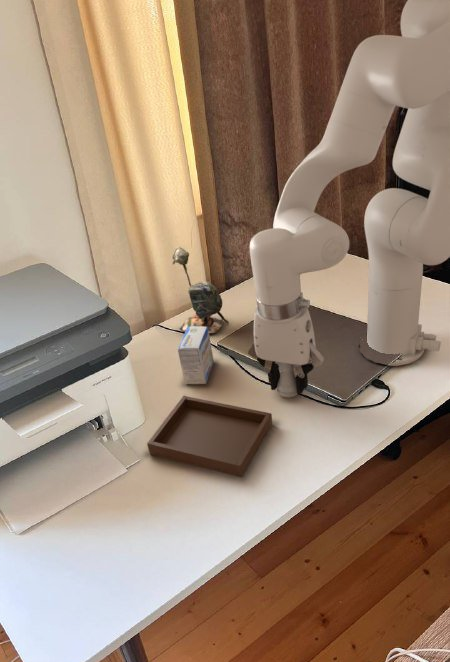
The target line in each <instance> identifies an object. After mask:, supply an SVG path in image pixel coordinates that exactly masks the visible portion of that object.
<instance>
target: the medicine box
mask: <svg viewBox="0 0 450 662" xmlns="http://www.w3.org/2000/svg"><path fill="white" fill-rule="evenodd" d="M210 337H211V336H210V333H209V330H208V327H202V326H192V327H187V329H186V332H185V331H184V334H183V337H182V339H181V340H180V343H179V346H178V348H177V354H178V358H179V363H180V368H181V372H182V373H181V374H182V377H183V382H184V384H185V385H206V384H207V382H208V379H209V377H210V373H211V370H212V367H213V364H214V362H215V360H214V354H213V349H212V348H213V347H212V342H211V338H210Z"/></svg>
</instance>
